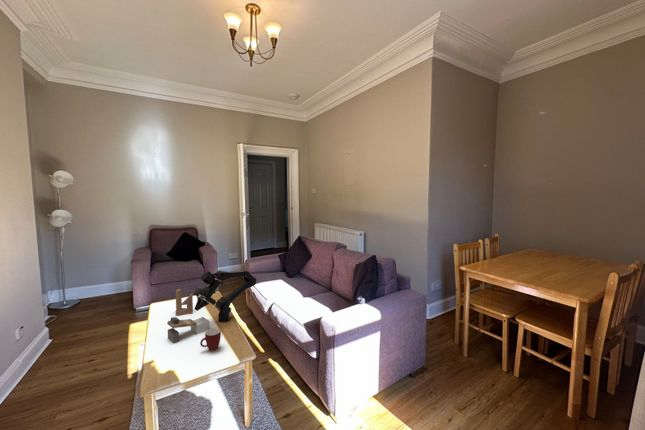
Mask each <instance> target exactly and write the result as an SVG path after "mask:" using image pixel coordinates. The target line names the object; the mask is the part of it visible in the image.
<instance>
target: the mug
mask: <svg viewBox="0 0 645 430" xmlns="http://www.w3.org/2000/svg"><path fill="white" fill-rule="evenodd" d="M204 333H205V334H204V338H203V337H202V339H201V340H200V343H199V344H200V347H202V348H208V350H209V351H211V352H214V351H215V352H216V350H218V348H219V347H220V342H221V338H222V330H221V328H217V327H215V328H209V329H208V330H206V331H204ZM203 341H205V343H206V344H205V345H204V344H203Z"/></svg>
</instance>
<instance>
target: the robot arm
mask: <svg viewBox="0 0 645 430" xmlns="http://www.w3.org/2000/svg"><path fill="white" fill-rule="evenodd" d="M241 277H242V278H243V281H242V283H241V284H240V285H239V286H238V287H236V288H235V289H234V290H233V291H231V293H230V294H228V295H227V296H225V297H224V296H221V297H220V298H219V299H217V300H215V299H214V298H213V295H214V294H216V293H217V292H216V291H217V289H218V288H219V287H220V286H222V287H223V286H224V282H225V281H227V280H229V279H233V278H241ZM200 280H201V281H202V282H203V283H204V284H206V285H207V286H205V287H199V286H196V288H195V291H194V293H193V295H195V296H196V299H197V300H196V303H195V306H194V307H193V310H195V311H200V310H202V309H204V308H205V307H206V306H208V305H210V304H211V305H213V306H214V307H215V308H216V309H217V311H218V314H217V315H218V316H217V317H218V321H217V322H218V323H222V322H223V323H228V322H229V321H230V319H231V318H232V317H231V316H230V315H231V314H230V313H231V311H232V307H230V306H231V305H232V304H231V303H232V302H233V301H234V300H236V299H237V298H238V297H239V296H240V295H241V294H243V292H245V291H246V290H247V289H249V288H252V287H254V286H255V285H256V284H257V278H256V277H254V276H253V275H252V274H250V272H249V270H245V269H242V270H232V271H231V270H230V271H228V270H227V271H226V270H217V271H216V272H214V273H211V271H209V270H207V271H206V272H204V273H203V274H202V275H200Z"/></svg>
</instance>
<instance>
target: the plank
mask: <svg viewBox="0 0 645 430" xmlns="http://www.w3.org/2000/svg"><path fill="white" fill-rule="evenodd" d="M193 320H194V319H192V318H188V319H179V318H178V317H176V316H175V317H170V319H169V320H168V321H167V323H166V324H167V325H168V326H169V327H171V328H174V329H177V328H178V329H179V328H185V327H186V328H187V327H191V326H196V324H197V323H196V322H194V321H193Z"/></svg>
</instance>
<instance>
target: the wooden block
mask: <svg viewBox="0 0 645 430" xmlns="http://www.w3.org/2000/svg"><path fill="white" fill-rule="evenodd" d="M182 299H183V297H182V289H181V288H177V289H176V290H175V317H176V316H183V315H191V314H193V313H194V303H193V302H194V301H193V300H194V299H193V293H190V294H189V295H188V297H186V298H185V300H184V301H182ZM182 306H186V307H182Z"/></svg>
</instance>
